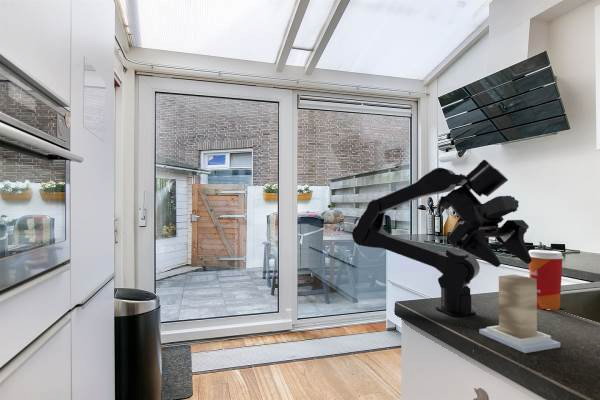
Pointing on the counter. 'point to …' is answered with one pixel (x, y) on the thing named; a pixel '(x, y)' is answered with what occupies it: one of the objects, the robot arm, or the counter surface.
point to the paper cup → (547, 277)
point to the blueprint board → (521, 340)
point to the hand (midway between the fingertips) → (514, 264)
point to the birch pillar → (518, 306)
